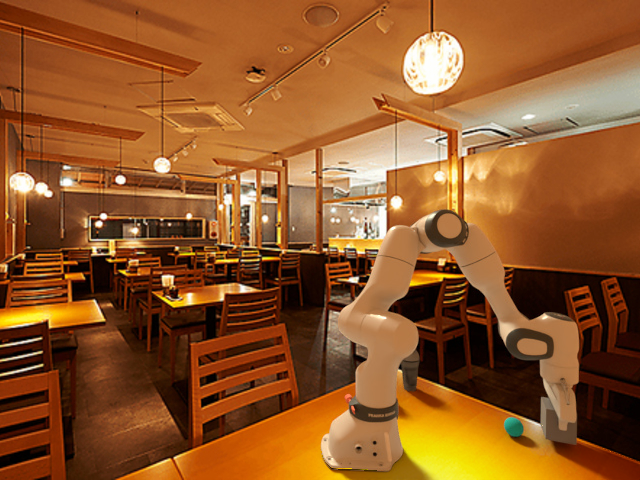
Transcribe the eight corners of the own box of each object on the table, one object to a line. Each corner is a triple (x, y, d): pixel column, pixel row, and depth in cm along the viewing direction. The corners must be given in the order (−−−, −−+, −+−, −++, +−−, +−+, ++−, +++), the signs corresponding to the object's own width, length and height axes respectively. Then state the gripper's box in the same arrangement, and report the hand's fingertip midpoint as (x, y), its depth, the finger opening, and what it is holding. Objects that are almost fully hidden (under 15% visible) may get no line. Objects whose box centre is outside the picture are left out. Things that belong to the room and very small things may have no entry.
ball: (511, 441, 98) (511, 424, 98) (500, 430, 103) (500, 414, 103) (527, 439, 99) (527, 422, 99) (515, 429, 104) (516, 413, 104)
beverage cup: (420, 394, 126) (420, 339, 125) (400, 392, 128) (399, 339, 127) (419, 385, 133) (418, 333, 133) (399, 383, 135) (399, 332, 134)
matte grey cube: (576, 445, 93) (577, 413, 92) (545, 439, 95) (546, 408, 95) (569, 430, 99) (569, 401, 99) (540, 425, 102) (541, 396, 101)
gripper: (584, 390, 85) (583, 445, 86) (563, 359, 104) (562, 404, 105) (554, 386, 88) (553, 439, 89) (538, 357, 107) (538, 401, 107)
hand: (558, 420), depth 97 cm, fingers closed on matte grey cube, 7 cm apart
